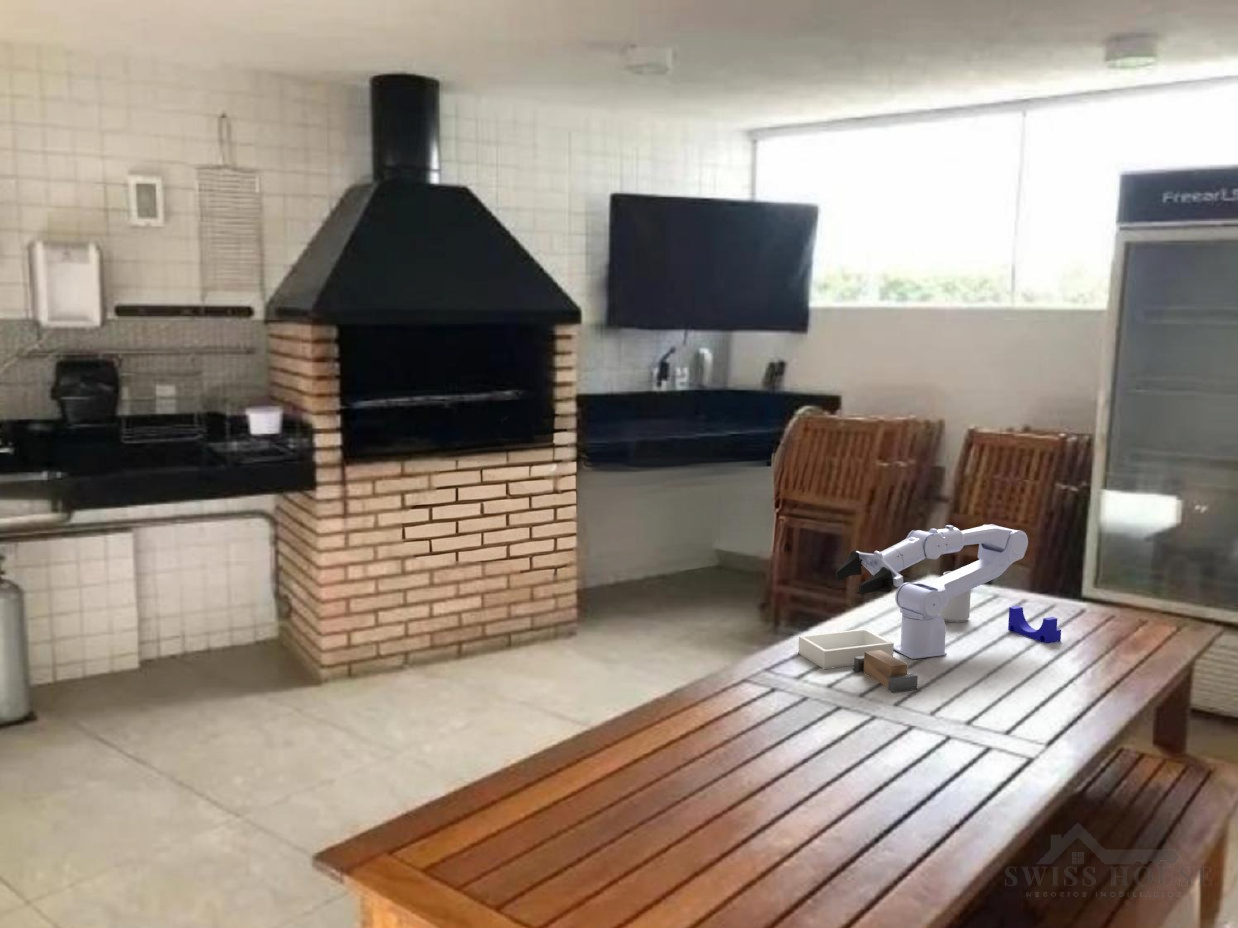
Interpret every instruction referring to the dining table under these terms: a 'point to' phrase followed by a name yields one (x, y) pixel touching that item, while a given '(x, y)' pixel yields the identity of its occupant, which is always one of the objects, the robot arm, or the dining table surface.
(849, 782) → the dining table surface
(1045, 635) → the blue saddle bracket
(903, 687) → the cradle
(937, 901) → the dining table surface
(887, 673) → the wooden block
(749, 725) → the dining table surface
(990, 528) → the robot arm
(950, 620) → the can
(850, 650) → the bin
